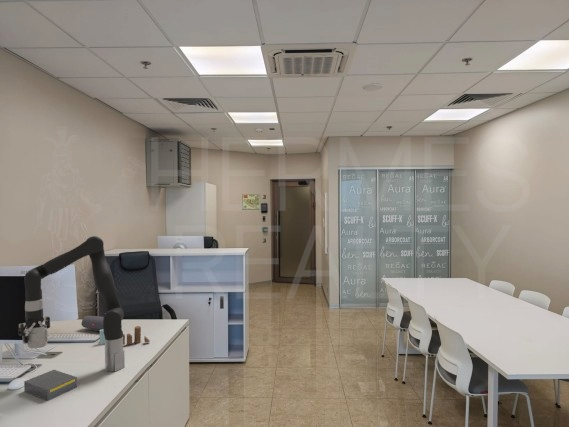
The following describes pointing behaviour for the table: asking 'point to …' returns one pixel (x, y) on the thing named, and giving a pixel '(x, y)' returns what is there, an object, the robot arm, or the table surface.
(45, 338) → the cable organizer
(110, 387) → the table surface
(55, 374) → the block
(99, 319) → the bluetooth speaker
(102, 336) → the squiggly pen holder
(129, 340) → the wooden block set
